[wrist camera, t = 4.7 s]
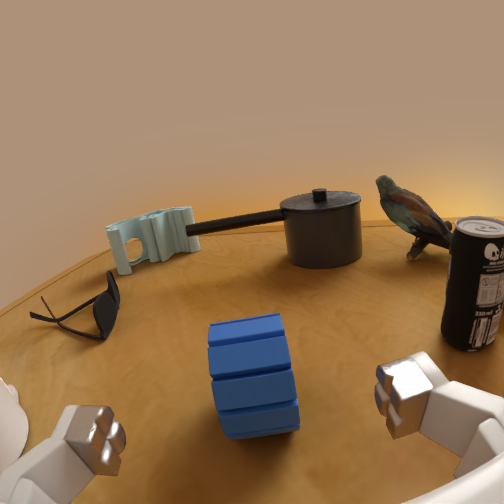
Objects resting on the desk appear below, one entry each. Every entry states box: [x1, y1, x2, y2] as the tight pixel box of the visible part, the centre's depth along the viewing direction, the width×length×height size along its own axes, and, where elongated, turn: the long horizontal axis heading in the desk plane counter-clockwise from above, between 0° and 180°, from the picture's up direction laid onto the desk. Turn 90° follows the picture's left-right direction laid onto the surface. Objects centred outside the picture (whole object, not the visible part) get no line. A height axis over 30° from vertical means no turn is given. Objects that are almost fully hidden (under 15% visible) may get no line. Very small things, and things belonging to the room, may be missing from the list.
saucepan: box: [185, 189, 362, 269], centre depth 53 cm, size 29×14×11 cm, turn 94°
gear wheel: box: [208, 313, 300, 440], centre depth 23 cm, size 5×9×9 cm, turn 4°
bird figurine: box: [376, 175, 452, 261], centre depth 46 cm, size 13×10×20 cm
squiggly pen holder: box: [106, 207, 200, 275], centre depth 66 cm, size 18×10×9 cm, turn 128°
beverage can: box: [441, 216, 504, 351], centre depth 25 cm, size 7×7×12 cm
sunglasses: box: [30, 270, 120, 341], centre depth 44 cm, size 17×14×5 cm
